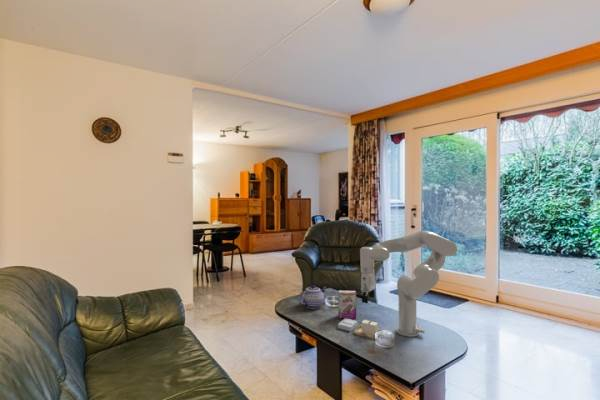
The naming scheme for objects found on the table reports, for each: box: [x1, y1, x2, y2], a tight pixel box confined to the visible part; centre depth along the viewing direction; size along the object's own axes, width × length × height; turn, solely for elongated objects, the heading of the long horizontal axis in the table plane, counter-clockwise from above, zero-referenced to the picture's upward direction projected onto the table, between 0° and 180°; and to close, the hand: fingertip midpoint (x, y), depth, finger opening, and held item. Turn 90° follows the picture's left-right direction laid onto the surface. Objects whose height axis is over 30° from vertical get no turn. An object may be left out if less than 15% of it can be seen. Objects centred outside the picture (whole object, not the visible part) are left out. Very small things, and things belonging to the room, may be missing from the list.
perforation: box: [336, 328, 350, 334], centre depth 170 cm, size 8×1×1 cm, turn 56°
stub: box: [361, 319, 379, 336], centre depth 166 cm, size 8×4×6 cm, turn 56°
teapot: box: [297, 284, 327, 310], centre depth 208 cm, size 25×15×15 cm, turn 124°
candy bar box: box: [338, 290, 357, 320], centre depth 189 cm, size 11×5×16 cm, turn 84°
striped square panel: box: [337, 318, 359, 332], centre depth 176 cm, size 8×10×2 cm
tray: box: [352, 324, 383, 340], centre depth 167 cm, size 13×9×2 cm
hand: (368, 299), depth 167 cm, fingers open, 9 cm apart
